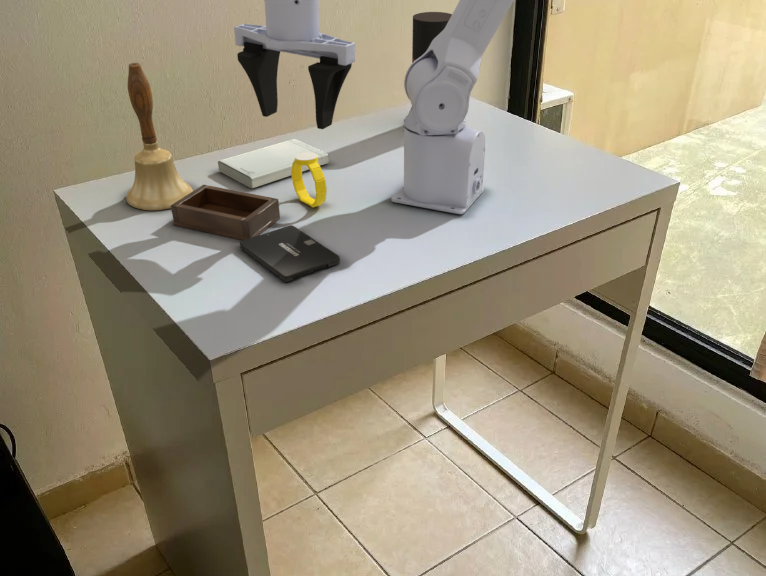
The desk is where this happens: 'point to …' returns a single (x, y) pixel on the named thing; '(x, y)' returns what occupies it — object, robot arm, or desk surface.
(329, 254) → the solid state drive
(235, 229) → the wooden tray
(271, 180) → the hard drive
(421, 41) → the deodorant
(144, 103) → the hand bell
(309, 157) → the watch
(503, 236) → the desk surface
